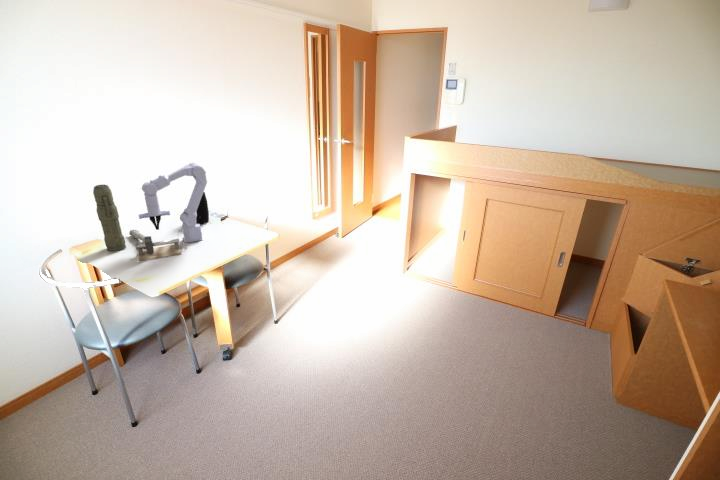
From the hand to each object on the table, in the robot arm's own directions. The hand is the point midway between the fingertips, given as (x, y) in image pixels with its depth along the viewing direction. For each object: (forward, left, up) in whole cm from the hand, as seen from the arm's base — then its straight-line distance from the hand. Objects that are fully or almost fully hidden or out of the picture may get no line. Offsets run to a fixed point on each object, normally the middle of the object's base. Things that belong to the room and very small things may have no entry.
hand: (157, 229), depth 198 cm
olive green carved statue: (+21, -7, -11) cm, 25 cm away
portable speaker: (-26, -30, -11) cm, 41 cm away
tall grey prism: (+5, +9, -8) cm, 13 cm away
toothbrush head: (+9, -12, -11) cm, 18 cm away
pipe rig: (+1, +9, -10) cm, 14 cm away
